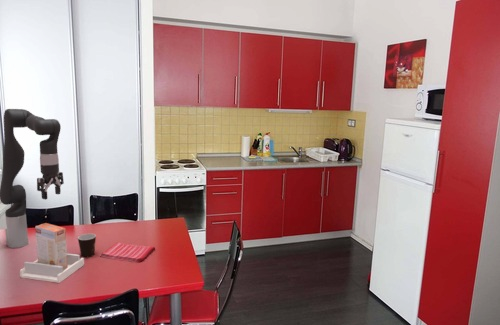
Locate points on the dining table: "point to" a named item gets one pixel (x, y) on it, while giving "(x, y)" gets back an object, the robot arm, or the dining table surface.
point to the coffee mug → (87, 244)
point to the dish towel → (128, 252)
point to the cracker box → (51, 245)
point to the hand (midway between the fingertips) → (51, 196)
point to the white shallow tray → (51, 269)
